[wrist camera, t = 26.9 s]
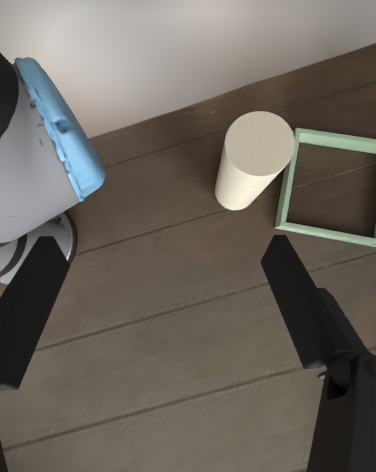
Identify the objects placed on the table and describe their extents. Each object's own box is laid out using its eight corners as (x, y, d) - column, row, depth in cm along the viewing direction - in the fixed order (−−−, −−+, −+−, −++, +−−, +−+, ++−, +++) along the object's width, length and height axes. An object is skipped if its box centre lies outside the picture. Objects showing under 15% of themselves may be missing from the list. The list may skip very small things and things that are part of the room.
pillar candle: (211, 206, 36) (218, 170, 21) (219, 168, 36) (231, 106, 21) (251, 213, 35) (289, 182, 20) (258, 174, 36) (300, 116, 21)
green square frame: (274, 228, 34) (279, 225, 32) (289, 136, 36) (296, 127, 33) (377, 247, 33) (391, 246, 31) (389, 151, 34) (404, 143, 32)
